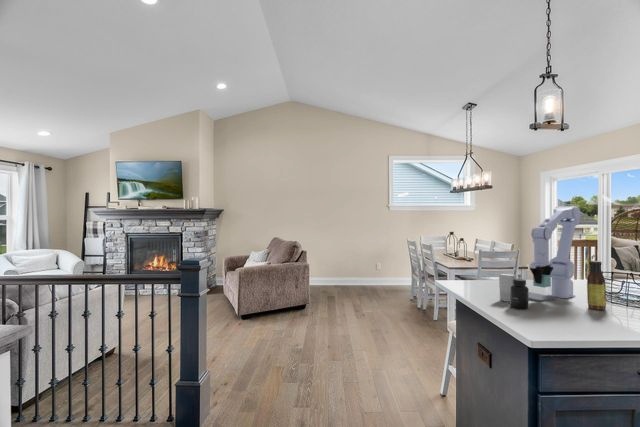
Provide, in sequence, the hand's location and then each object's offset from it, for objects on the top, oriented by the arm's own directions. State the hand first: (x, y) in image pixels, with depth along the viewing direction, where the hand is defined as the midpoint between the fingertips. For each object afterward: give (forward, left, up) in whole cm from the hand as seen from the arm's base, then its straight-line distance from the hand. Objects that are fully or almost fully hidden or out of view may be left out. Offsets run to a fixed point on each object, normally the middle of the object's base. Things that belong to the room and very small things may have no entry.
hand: (541, 282), depth 168 cm
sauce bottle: (-6, +19, -9) cm, 22 cm away
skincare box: (+13, -8, -9) cm, 18 cm away
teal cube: (0, 0, -2) cm, 2 cm away
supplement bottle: (+20, +2, -9) cm, 22 cm away
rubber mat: (-3, -5, -8) cm, 10 cm away
